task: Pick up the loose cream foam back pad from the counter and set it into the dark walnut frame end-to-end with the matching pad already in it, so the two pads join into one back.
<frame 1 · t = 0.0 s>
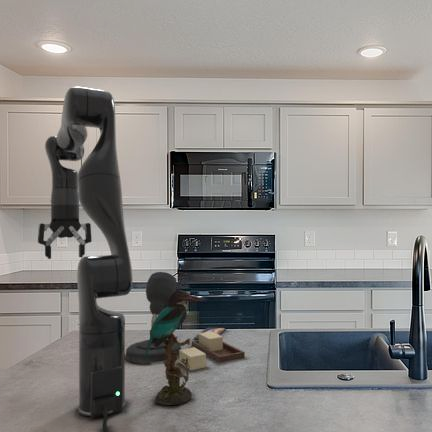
hand: (65, 257, 135), 29 cm above the counter, tool pointing down, fingers open, 8 cm apart
smartphone: (210, 335, 157), on the counter
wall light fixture: (156, 353, 138), on the counter
pad b: (192, 366, 125), on the counter
pad a: (210, 347, 141), resting on frame
sculpture: (177, 400, 103), on the counter
frame: (217, 352, 137), on the counter
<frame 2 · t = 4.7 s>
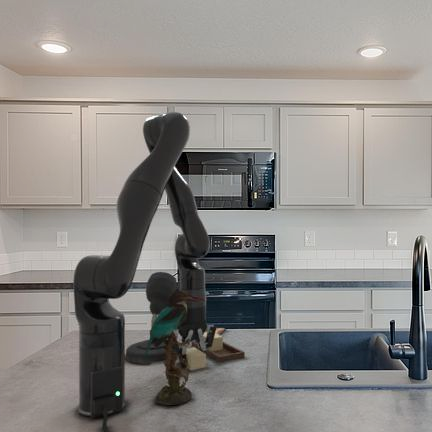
hand: (192, 365, 125), 0 cm above the counter, tool pointing down, fingers closed on pad b, 4 cm apart
pad b: (192, 366, 125), on the counter, touching gripper
everything else where it was.
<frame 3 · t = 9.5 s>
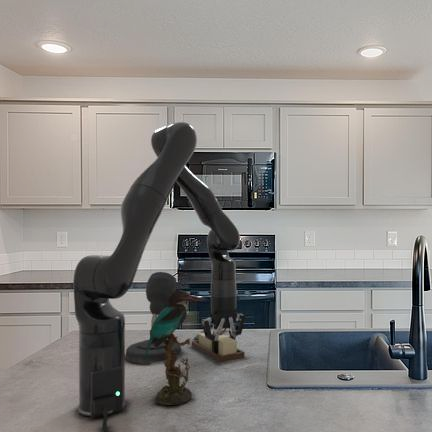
hand: (223, 351, 134), 2 cm above the counter, tool pointing down, fingers closed on pad b, 4 cm apart
pad b: (223, 352, 134), point 1 cm above the counter, touching gripper
everything else where it was.
when the fingers open (2 cm above the counter, at t = 13.9 s): pad b drops 1 cm, resting on frame.
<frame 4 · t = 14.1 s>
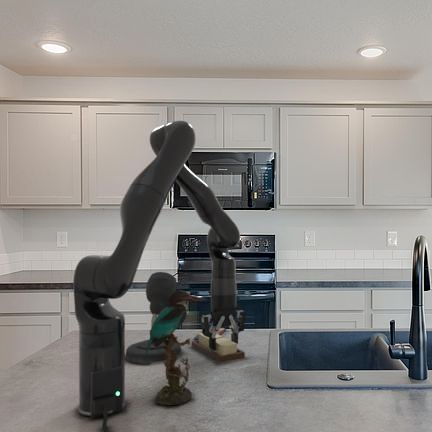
hand: (223, 347, 134), 3 cm above the counter, tool pointing down, fingers open, 6 cm apart
pad b: (223, 355, 134), resting on frame
everything else where it was.
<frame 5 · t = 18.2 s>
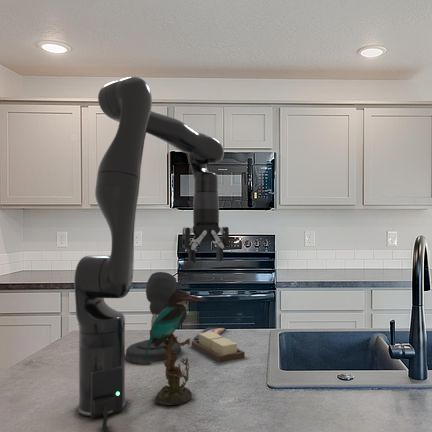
hand: (206, 261, 134), 28 cm above the counter, tool pointing down, fingers open, 8 cm apart
nothing on the counter moved.
at the end: pad b 0.1 cm from the target spot in the frame, point 0.5 cm above the frame's base; pad b 9.1 cm from the pad a (horizontally); pad b tilted 0° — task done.
